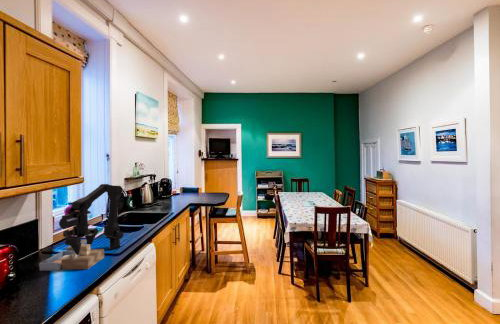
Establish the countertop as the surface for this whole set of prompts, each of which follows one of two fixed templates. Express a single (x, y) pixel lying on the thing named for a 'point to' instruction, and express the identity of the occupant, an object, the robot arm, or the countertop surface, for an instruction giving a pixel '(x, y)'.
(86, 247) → the scraper
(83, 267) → the brown square tray
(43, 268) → the box
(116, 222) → the robot arm
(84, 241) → the cleaver
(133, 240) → the countertop surface
